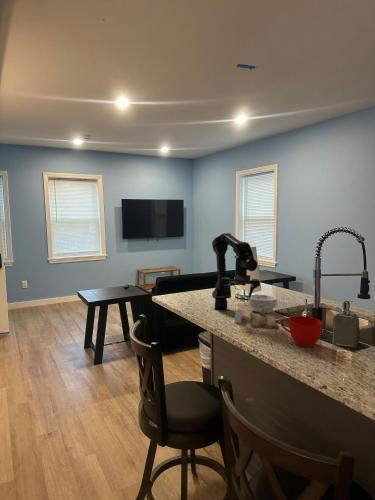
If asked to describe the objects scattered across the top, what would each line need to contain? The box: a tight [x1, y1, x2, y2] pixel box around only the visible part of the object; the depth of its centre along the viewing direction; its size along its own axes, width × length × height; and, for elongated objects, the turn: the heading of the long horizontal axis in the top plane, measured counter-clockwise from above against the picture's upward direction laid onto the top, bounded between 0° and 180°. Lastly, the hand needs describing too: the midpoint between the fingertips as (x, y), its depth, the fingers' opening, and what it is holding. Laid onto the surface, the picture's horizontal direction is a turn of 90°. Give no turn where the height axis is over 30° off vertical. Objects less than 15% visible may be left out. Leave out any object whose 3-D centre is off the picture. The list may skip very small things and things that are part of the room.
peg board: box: [249, 309, 279, 330], centre depth 168 cm, size 12×19×4 cm, turn 172°
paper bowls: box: [248, 294, 278, 314], centre depth 188 cm, size 15×15×8 cm
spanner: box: [234, 309, 244, 325], centre depth 170 cm, size 3×11×4 cm, turn 167°
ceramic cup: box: [280, 315, 324, 348], centre depth 140 cm, size 13×17×10 cm
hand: (239, 298), depth 169 cm, fingers open, 9 cm apart
